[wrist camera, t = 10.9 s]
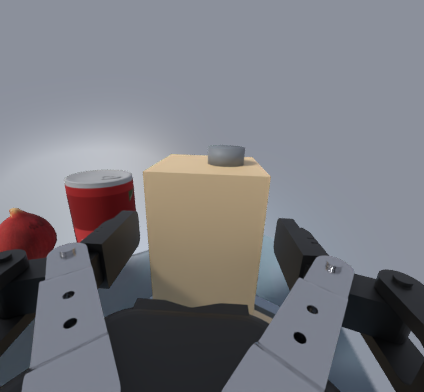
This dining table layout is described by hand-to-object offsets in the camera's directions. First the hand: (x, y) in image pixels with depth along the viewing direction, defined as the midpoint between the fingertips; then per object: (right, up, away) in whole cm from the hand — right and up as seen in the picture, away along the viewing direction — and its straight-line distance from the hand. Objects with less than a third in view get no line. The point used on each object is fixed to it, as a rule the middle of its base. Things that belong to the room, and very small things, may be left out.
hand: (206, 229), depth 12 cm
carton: (0, -8, +3) cm, 8 cm away
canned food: (-15, -6, +19) cm, 25 cm away
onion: (-22, -7, +15) cm, 28 cm away
